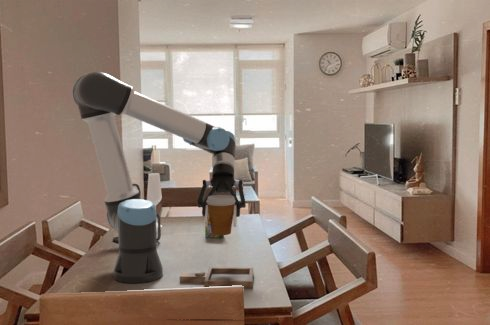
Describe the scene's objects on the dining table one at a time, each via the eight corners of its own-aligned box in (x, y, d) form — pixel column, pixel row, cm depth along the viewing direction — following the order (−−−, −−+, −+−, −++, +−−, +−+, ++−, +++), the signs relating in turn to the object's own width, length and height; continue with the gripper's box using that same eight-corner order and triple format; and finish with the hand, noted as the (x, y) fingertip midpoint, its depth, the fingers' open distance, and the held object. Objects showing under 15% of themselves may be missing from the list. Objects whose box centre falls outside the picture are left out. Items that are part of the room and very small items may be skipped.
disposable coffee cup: (232, 237, 166) (232, 199, 165) (203, 236, 168) (203, 198, 167) (238, 230, 175) (238, 195, 174) (210, 229, 177) (210, 194, 176)
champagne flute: (144, 226, 237) (143, 174, 235) (154, 224, 243) (153, 172, 241) (155, 228, 234) (154, 175, 231) (165, 225, 239) (164, 173, 237)
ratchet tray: (176, 287, 154) (176, 279, 153) (184, 273, 168) (184, 266, 167) (252, 288, 153) (252, 280, 153) (253, 273, 167) (253, 266, 167)
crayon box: (205, 237, 217) (204, 209, 216) (207, 235, 219) (207, 208, 218) (222, 238, 215) (221, 210, 214) (224, 236, 218) (223, 209, 217)
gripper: (254, 175, 185) (253, 230, 171) (193, 175, 186) (188, 230, 171) (254, 162, 179) (253, 218, 165) (192, 162, 180) (186, 217, 165)
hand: (220, 224), depth 168 cm, fingers closed on disposable coffee cup, 8 cm apart
